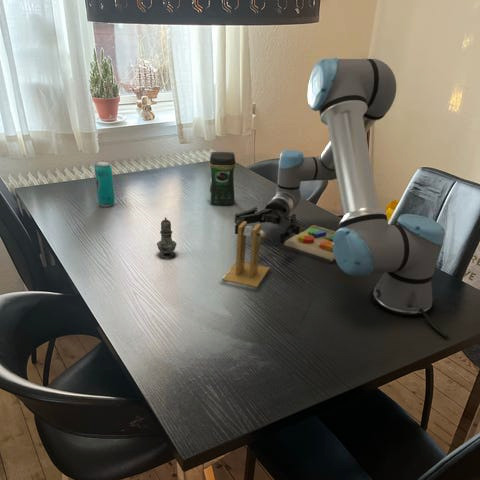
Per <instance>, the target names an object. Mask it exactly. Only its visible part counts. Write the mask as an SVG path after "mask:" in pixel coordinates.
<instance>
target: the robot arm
mask: <svg viewBox="0 0 480 480" xmlns="http://www.w3.org/2000/svg"><path fill="white" fill-rule="evenodd" d="M396 94H397V80H396V75H395V74H394V72H393V70H392V69H391V67H390V66H389V65H388V64H387V63H385V62H384V61H382V60H380V59H376V58H338V57H333V58H323V59H320V60H319V61H318V62H317V63H316V64H315V66H313V69H312V71H311V74H310V77H309V81H308V87H307V103H308V107H309V108H310V109H311V110H312V111H314V112H318V113H319V118H320V122H321V123H322V124H324V125H326V126H327V127H328V128H327V129H328V134H329V142H328V144H327V145H326V147H325V148H324V149H323V151H322V152H321V154H320V156H304V153H303V152H302V151H301V150H297V149H286V150H283V151H281V153H280V156H279V161H278V165H277V166H278V168H277V169H278V170H277V171H278V172H277V183H276V192H275V196H273V198H272V199H271V200H270V201H269V202H268V203H267V204H266V206H265V207H264V209H262V210H258V207H257V206H255V207H253V208H251V209H248V210H245V211H241V212H239V213H236V214H235V213H234V223H235V225H234V235H238V226H239V225H240V224H241V223H242V222H243V221H246V222H247V225H249V224H257V223H259V224H263V223H271V224H273V225H277V226H278V227H281V228H282V229H283V230H282V231H281V233H280V238H279V243H280V244H284V242H285V241H286V240H287V238H291V236H292V235H293V234H295V235H299V234H300V233H301V231H300V230H301V225H300V223H299V221H298V219H297V218H296V217H297V214H295V213H292V212H293V211H294V209H295V208H296V207H297V206H298V205H299V203H300V201H301V199H302V193H301V190H300V189H301V188H300V187H301V182H311V181H314V182H315V181H334V180H336V182H337V187H338V193H339V199H340V204H341V210H342V216H343V217H342V218H341V220H340V221H339V222H338V229H337V230H336V231H335V234H334V237H333V242H334V243H333V253H334V257H335V259H334V260H335V262H336V264H337V266H338V267H339V269H340V270H341V271H342V272H343V273H345V274H346V275H348V276H352V277H353V276H354V277H355V276H356V277H357V276H363V277H365V276H366V277H367V276H369V275H375V274H376V275H378V274H383V275H382V276H381V277H380V279H379V280H378V282H377V284H376V285H375V287H374V289H373V291H372V299H373V302H374V303H375V304H376V305H377V306H378V307H379V308H380V309H382V310H384V311H386V312H389V313H391V314H393V315H398V316H403V317H420V316H423V317H424V318H425V319H426V321H427V322H428V323H429V326H431V327H432V328H433V330H434V331H436V332H437V333H438V334H440V335H441V336H442V337H443V338H445V339H447V338H448V334H446V333H445V332H443V330H441V329H439V328H438V327H437V326H436V325H435V323H433V321H432V320H431V318H430V317H429V316H428V313H429V312H430V311H431V308H432V306H433V299H434V298H433V288H432V287H433V286H432V279H433V277H434V274H435V270H436V266H437V263H438V261H439V257H440V254H441V251H442V247H443V246H444V239H445V236H446V230H445V228H444V226H443V225H442V224H441V223H439V222H437V221H435V220H434V219H432V218H429V217H426V216H423V215H420V214H419V215H418V214H415V213H414V214H413V213H403V214H400V216H398V217H397V219H396V223H394V224H393V223H392V224H389V220H388V216H387V213H386V212H384V211H382V210H381V209H380V208H379V202H378V197H377V190H376V185H375V178H374V172H373V168H372V167H373V166H372V163H371V157H370V150H369V145H368V139H367V134H368V132H369V131H370V129H371V128H372V127H373V126H374V124H375V123H376V121H379V120H382V119H383V118H384V117H385V116H386V115H387V113H389V111H390V109H391V107H392V106H393V104H394V101H395V99H396Z"/></svg>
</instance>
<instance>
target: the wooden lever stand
mask: <svg viewBox="0 0 480 480" xmlns="http://www.w3.org/2000/svg"><path fill="white" fill-rule="evenodd" d="M247 225H248V224H247V222H246V221H243V222H242V223H241V224H240V225H239V226H238V234H237V238H236V239H237V240H236V261H235V263H234V264H233V265H232V267H231V268H230V269H229V270H228V272H226V274H225V275H224V276H223V277H222V279H221V280H222V281H224V282H228V283H232V284H233V283H234V284H239V285H243V286H248V287H252V288H255V289H257V288H258V287H259V286H260V284H261V282H262V281H263V279H264V278H265V276H266V274H268V273H269V271H270V269H271V268H270V267H269V266H264V265H260V264H259V259H260V258H259V257H260V245H261V244H260V243H261V242H260V234H261V229H262V223H256V225H255V226H254V227H252V228H253V230H252V237H251V245H250V258H249V259H250V260H249V262H245V261H246V260H245V259H246V246H247V245H246V243H247V242H246V241H247V236H244V235H243V233H244V228H245V226H247ZM247 227H248V226H247Z"/></svg>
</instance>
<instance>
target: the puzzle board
mask: <svg viewBox="0 0 480 480" xmlns="http://www.w3.org/2000/svg"><path fill="white" fill-rule="evenodd" d="M335 232H336V231H335V230H332V229H328V228H325V227H321V226H318V225H311V226H309V227H308V228H307V229H306V230H304V231H302V232H299V235H297V234H295V235H293V236H292V237H289V238H288V239H285V240H284V242H283V245H284V246H287V247H290V248H293V249H296V250H299V251H302V252H305V253H308V254H312V255H314V256H316V257H317V256H318V257H321V258H324V259H325V260H329V261H328V263H332V262H334V260H335V257H334V253H333V243H334V242H333V237H334V234H335Z"/></svg>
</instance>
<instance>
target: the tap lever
mask: <svg viewBox="0 0 480 480" xmlns="http://www.w3.org/2000/svg"><path fill="white" fill-rule="evenodd" d="M253 228H254V227H252V226H245V228H244V233H243V235H244V236H246V237H249V238H252V230H253ZM266 238H267V233H266V231H265V230H264V229H262V228H261V234H260V243H261V242H264V241H265V240H266Z"/></svg>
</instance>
